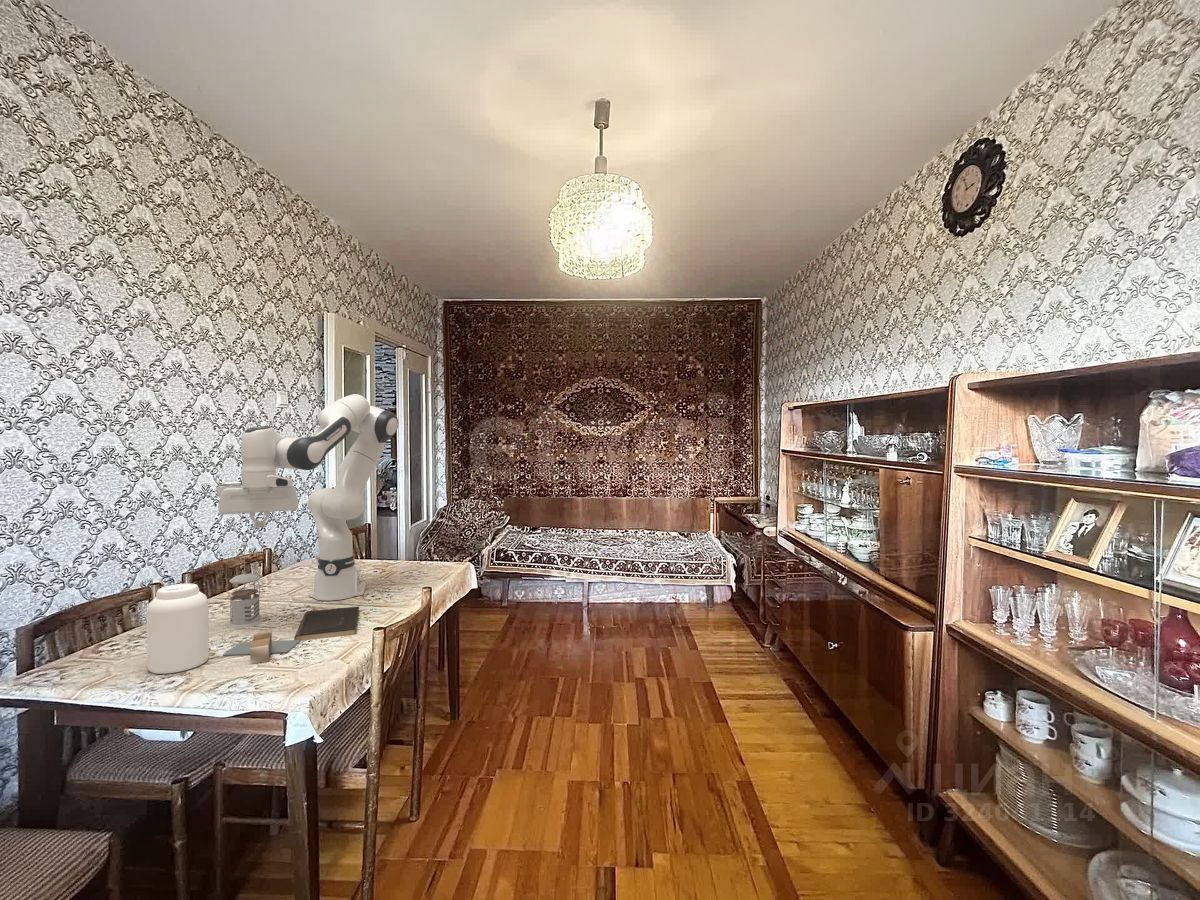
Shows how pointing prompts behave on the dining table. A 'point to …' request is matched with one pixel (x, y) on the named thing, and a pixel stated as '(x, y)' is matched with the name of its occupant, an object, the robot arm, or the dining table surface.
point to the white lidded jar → (177, 629)
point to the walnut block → (261, 647)
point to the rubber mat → (277, 648)
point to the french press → (244, 601)
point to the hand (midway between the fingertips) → (259, 527)
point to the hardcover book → (328, 623)
